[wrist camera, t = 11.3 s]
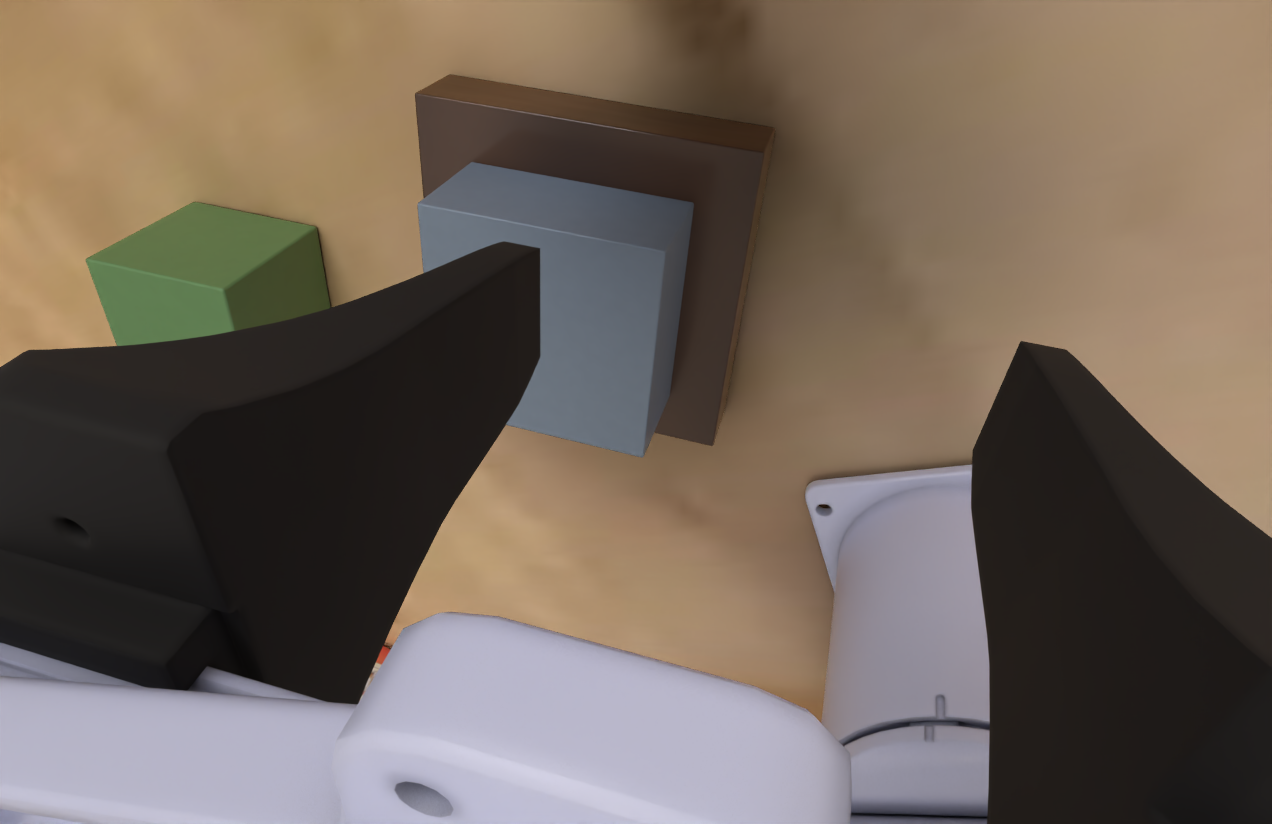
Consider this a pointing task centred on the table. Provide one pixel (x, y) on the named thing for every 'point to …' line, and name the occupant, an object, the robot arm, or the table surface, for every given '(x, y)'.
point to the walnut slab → (634, 161)
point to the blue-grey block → (580, 293)
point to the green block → (208, 275)
